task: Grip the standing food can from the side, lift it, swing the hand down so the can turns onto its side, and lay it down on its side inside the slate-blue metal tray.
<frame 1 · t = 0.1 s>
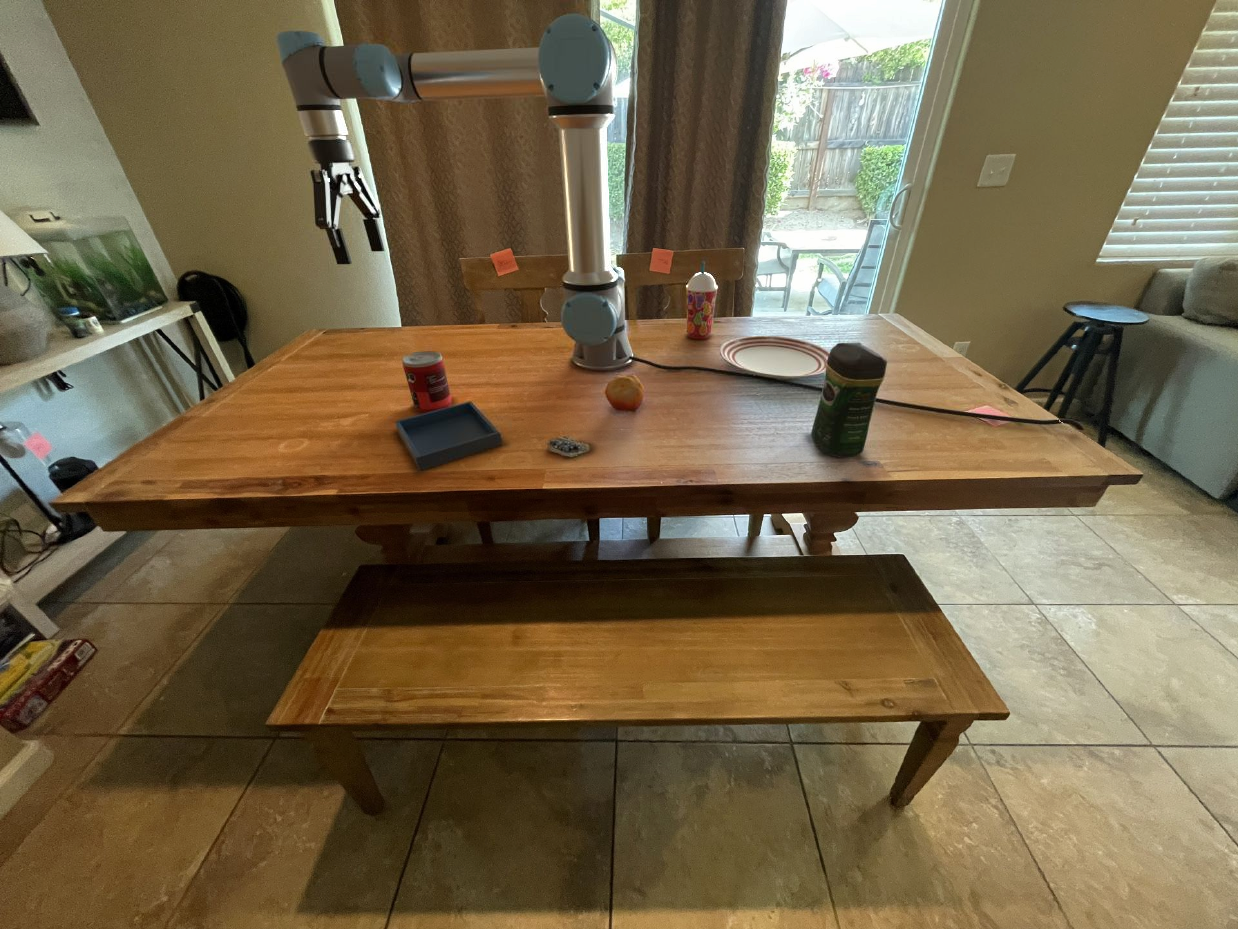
hand: (362, 257, 107), 28 cm above the table, tool pointing down, fingers open, 13 cm apart
coffee jar: (835, 446, 92), on the table
dinner plate: (774, 366, 124), on the table
tray: (448, 438, 97), on the table
canned food: (433, 405, 110), on the table
smoothie: (698, 336, 143), on the table
grey mineral rock: (569, 449, 93), on the table
fruit: (625, 408, 107), on the table
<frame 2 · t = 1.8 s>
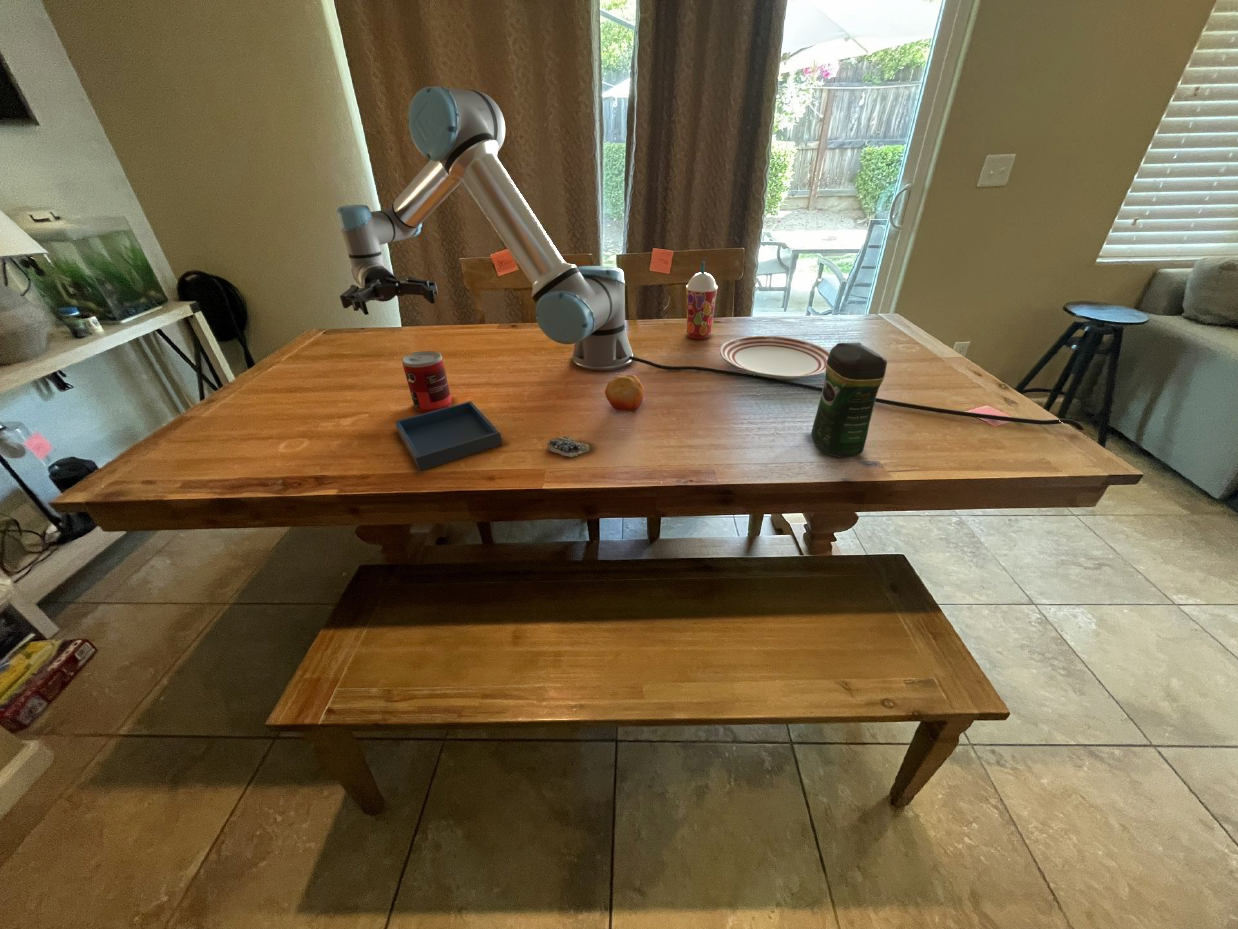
hand: (399, 302, 105), 20 cm above the table, tool horizontal, fingers open, 13 cm apart
nothing on the table moved.
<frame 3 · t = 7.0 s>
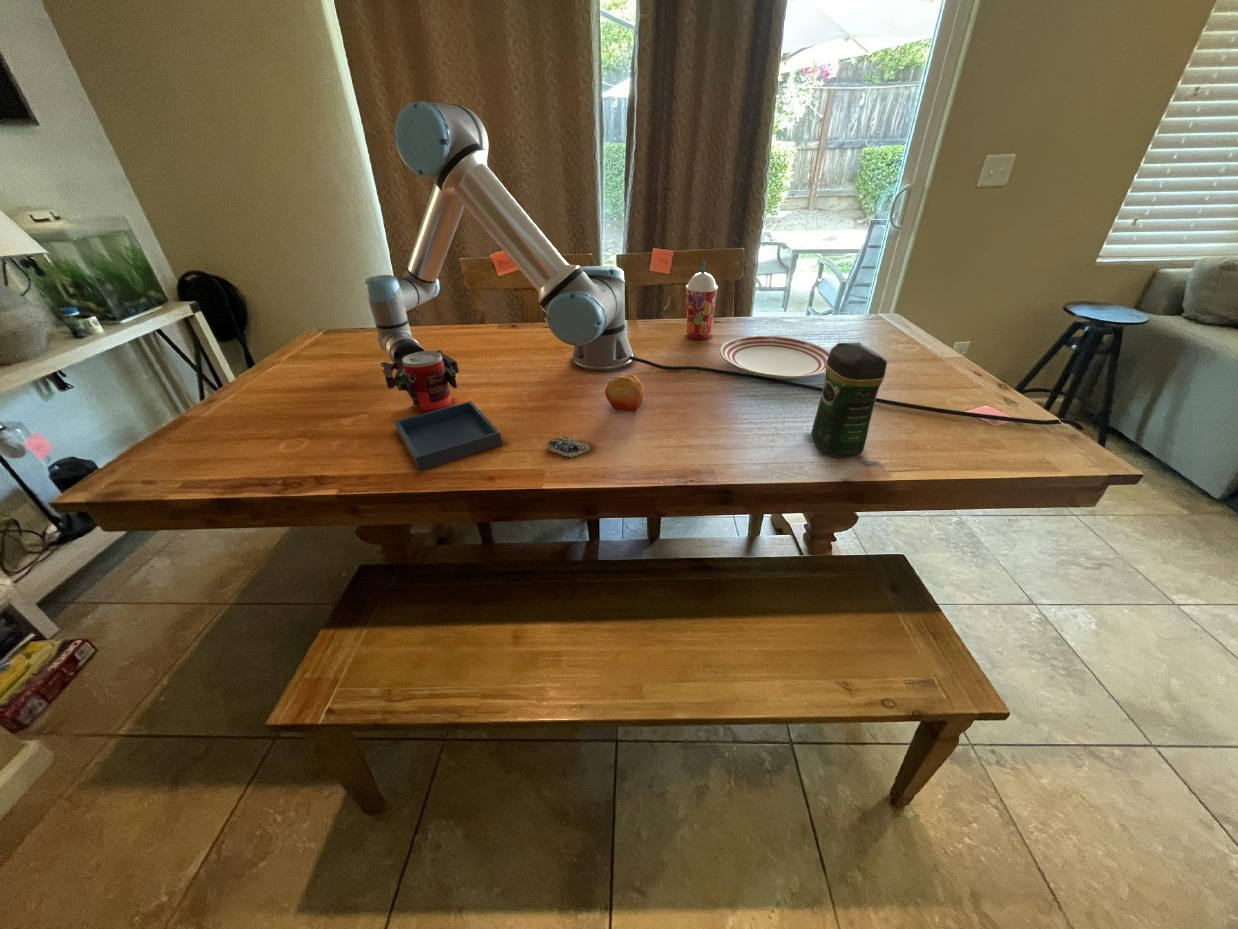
hand: (433, 386, 103), 6 cm above the table, tool horizontal, fingers closed on canned food, 8 cm apart
canned food: (433, 406, 110), on the table, touching gripper
everything else where it was.
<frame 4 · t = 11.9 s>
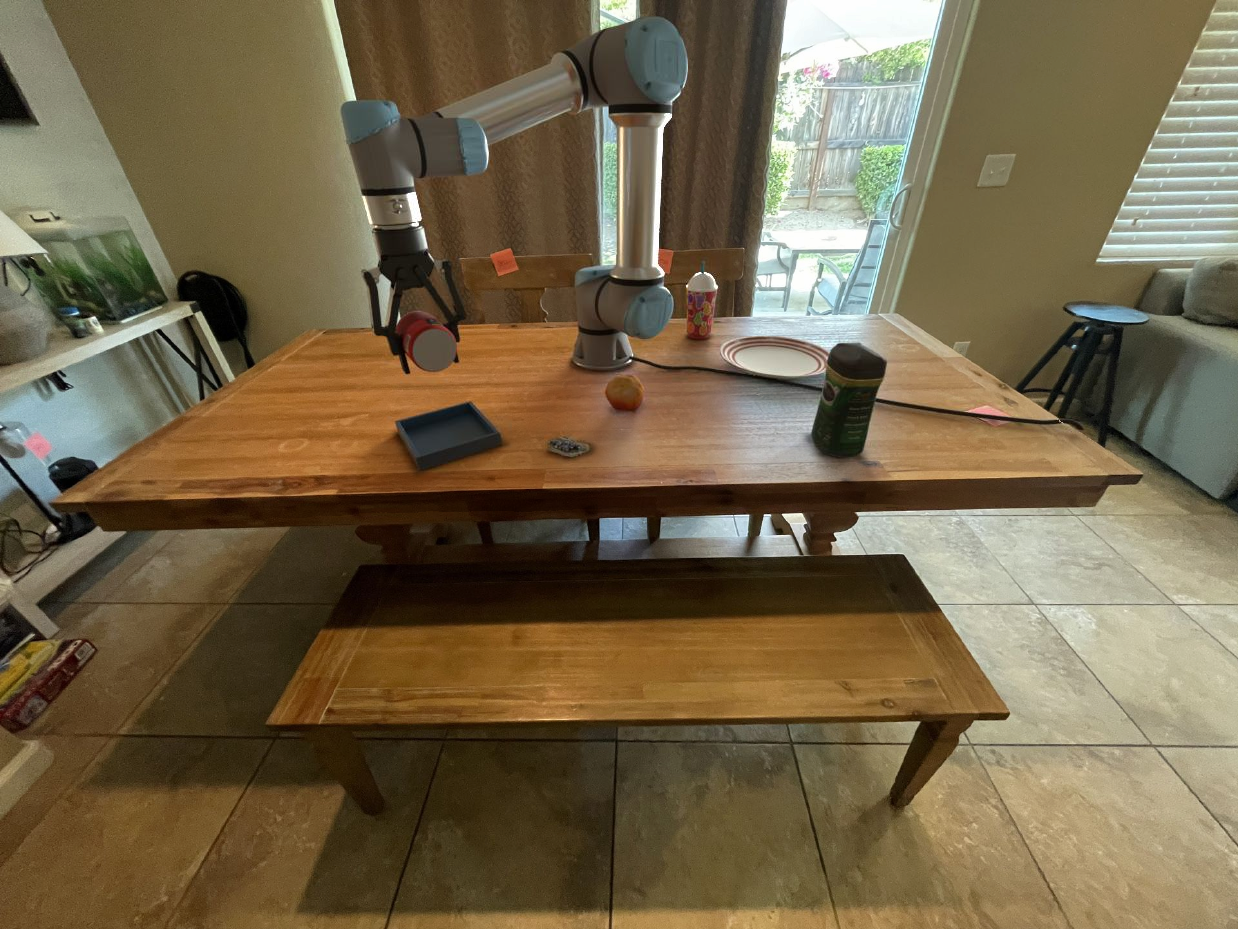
hand: (431, 365, 89), 15 cm above the table, tool pointing down, fingers closed on canned food, 8 cm apart
canned food: (435, 350, 82), point 20 cm above the table, touching gripper
everything else where it was.
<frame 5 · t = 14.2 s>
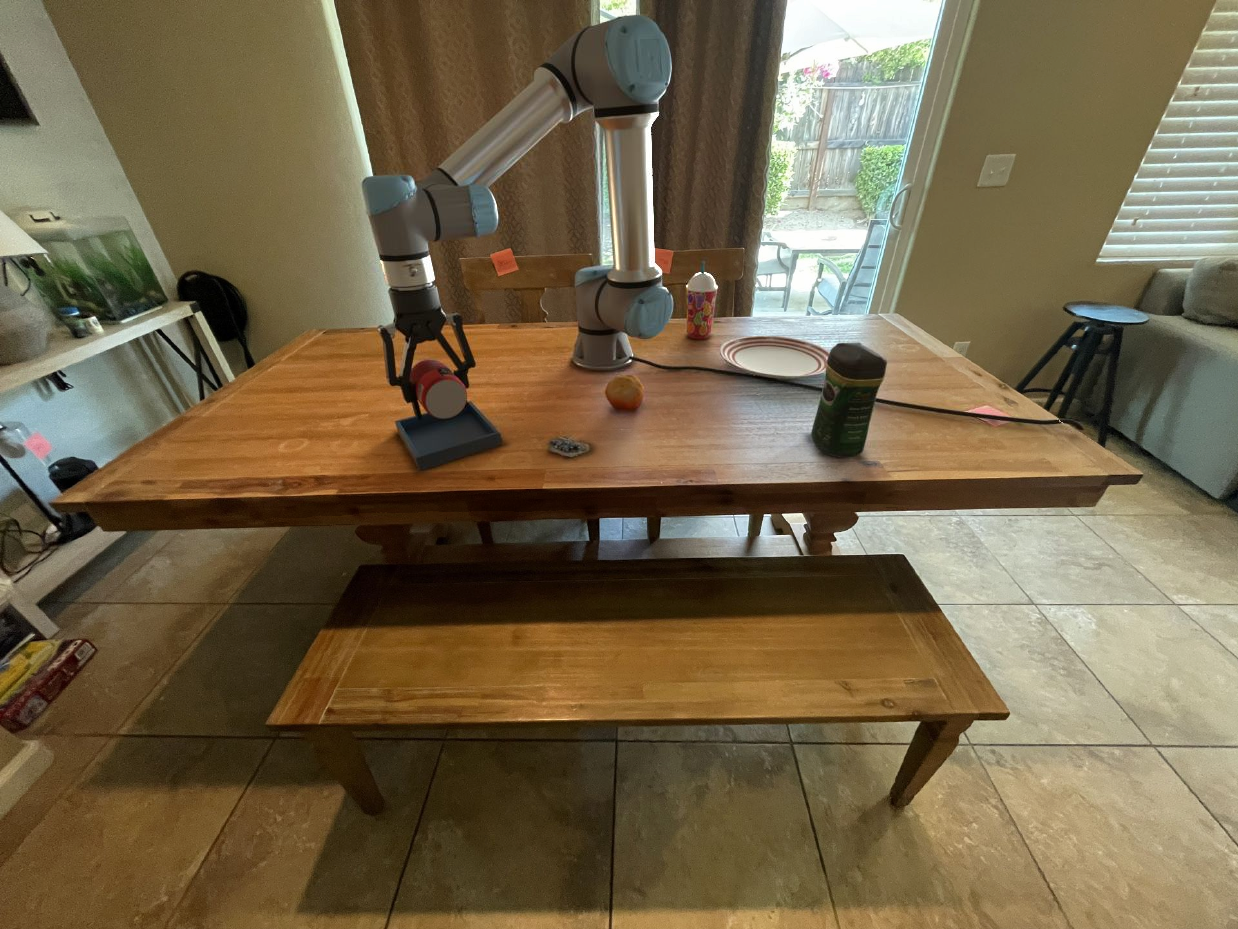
hand: (441, 410, 94), 6 cm above the table, tool pointing down, fingers closed on canned food, 8 cm apart
canned food: (446, 399, 87), point 11 cm above the table, touching gripper
everything else where it was.
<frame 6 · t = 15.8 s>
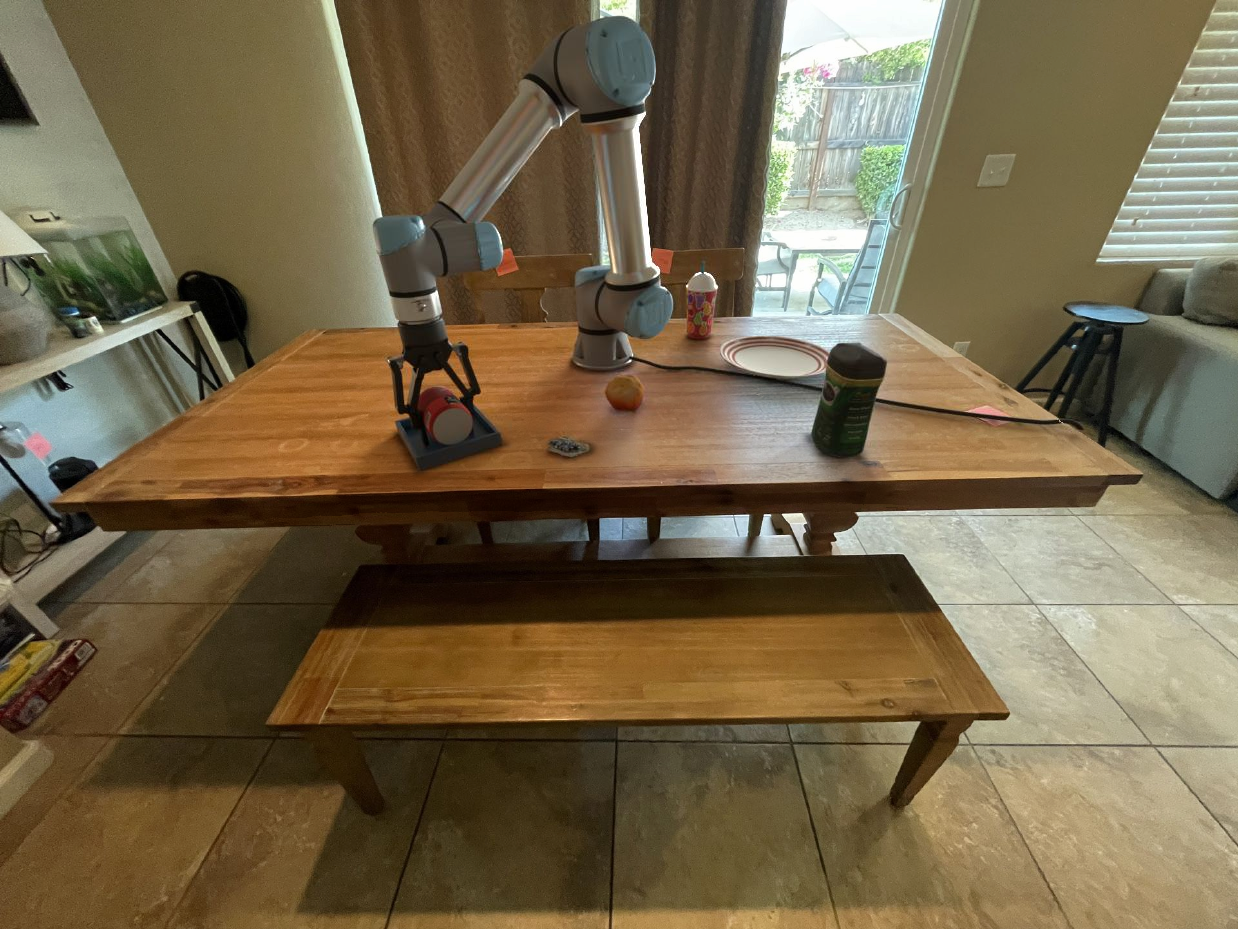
hand: (448, 435, 97), 1 cm above the table, tool pointing down, fingers closed on canned food, 8 cm apart
canned food: (453, 427, 90), point 5 cm above the table, touching gripper
everything else where it was.
when the fingers open (1 cm above the table, at t = 21.8 s): canned food drops 2 cm, resting on tray.
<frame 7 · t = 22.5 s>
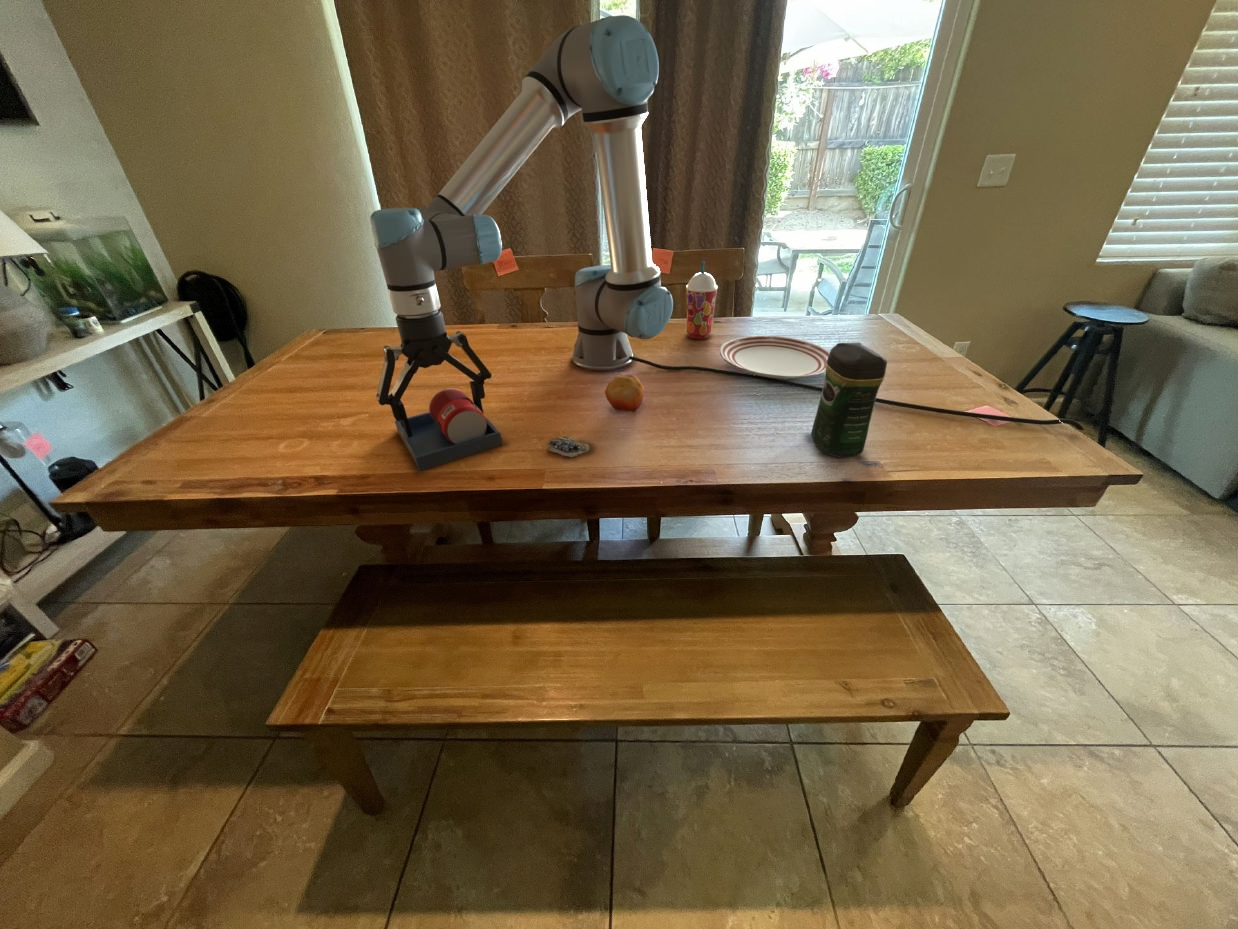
hand: (445, 424, 95), 3 cm above the table, tool pointing down, fingers open, 13 cm apart
canned food: (467, 428, 91), point 4 cm above the table, touching gripper, tray
everything else where it was.
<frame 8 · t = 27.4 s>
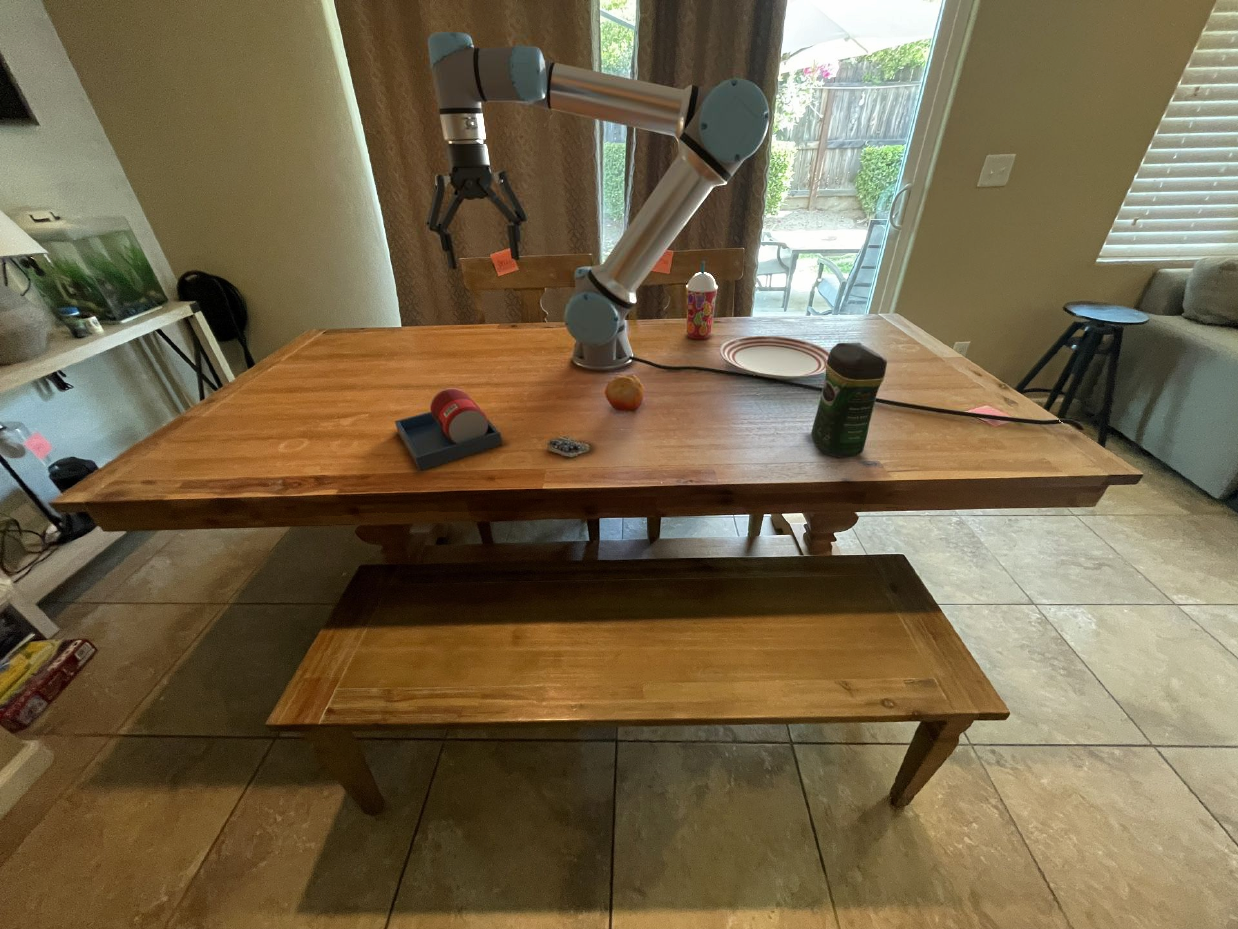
hand: (485, 263, 105), 27 cm above the table, tool pointing down, fingers open, 13 cm apart
canned food: (469, 428, 92), point 4 cm above the table, touching tray
everything else where it was.
at the end: canned food tilted 90°; canned food inside the target area on the tray (6.9 cm from its centre), point 4.3 cm above the tray's base; canned food touching tray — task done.
